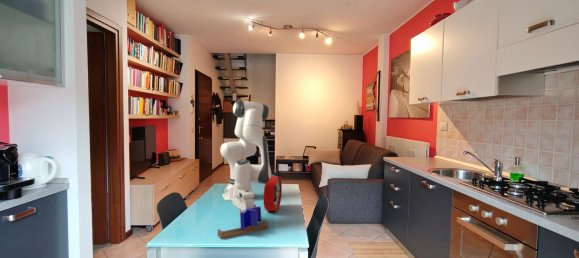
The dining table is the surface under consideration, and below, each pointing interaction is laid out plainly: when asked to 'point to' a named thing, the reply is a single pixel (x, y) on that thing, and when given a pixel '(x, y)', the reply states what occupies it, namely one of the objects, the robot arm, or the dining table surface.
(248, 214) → the mounting bracket
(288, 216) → the dining table surface
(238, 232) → the handle
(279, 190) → the red hockey puck
